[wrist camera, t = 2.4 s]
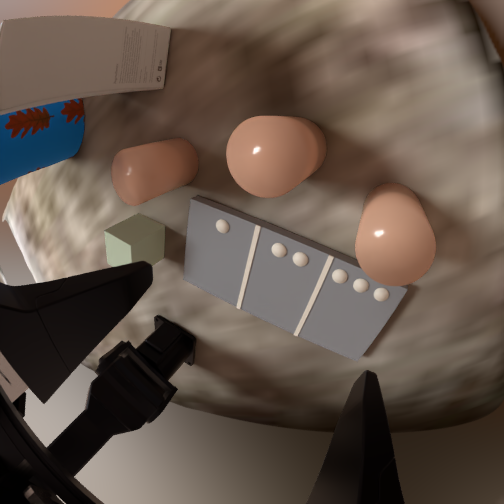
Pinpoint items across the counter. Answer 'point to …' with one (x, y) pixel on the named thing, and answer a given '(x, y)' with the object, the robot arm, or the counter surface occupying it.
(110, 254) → the pale green block
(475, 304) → the counter surface
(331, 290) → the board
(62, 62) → the skincare box
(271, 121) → the salmon pink egg
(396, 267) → the peach colored egg
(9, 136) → the thermos
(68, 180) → the counter surface
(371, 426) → the robot arm
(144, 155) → the glossy pink ovoid
